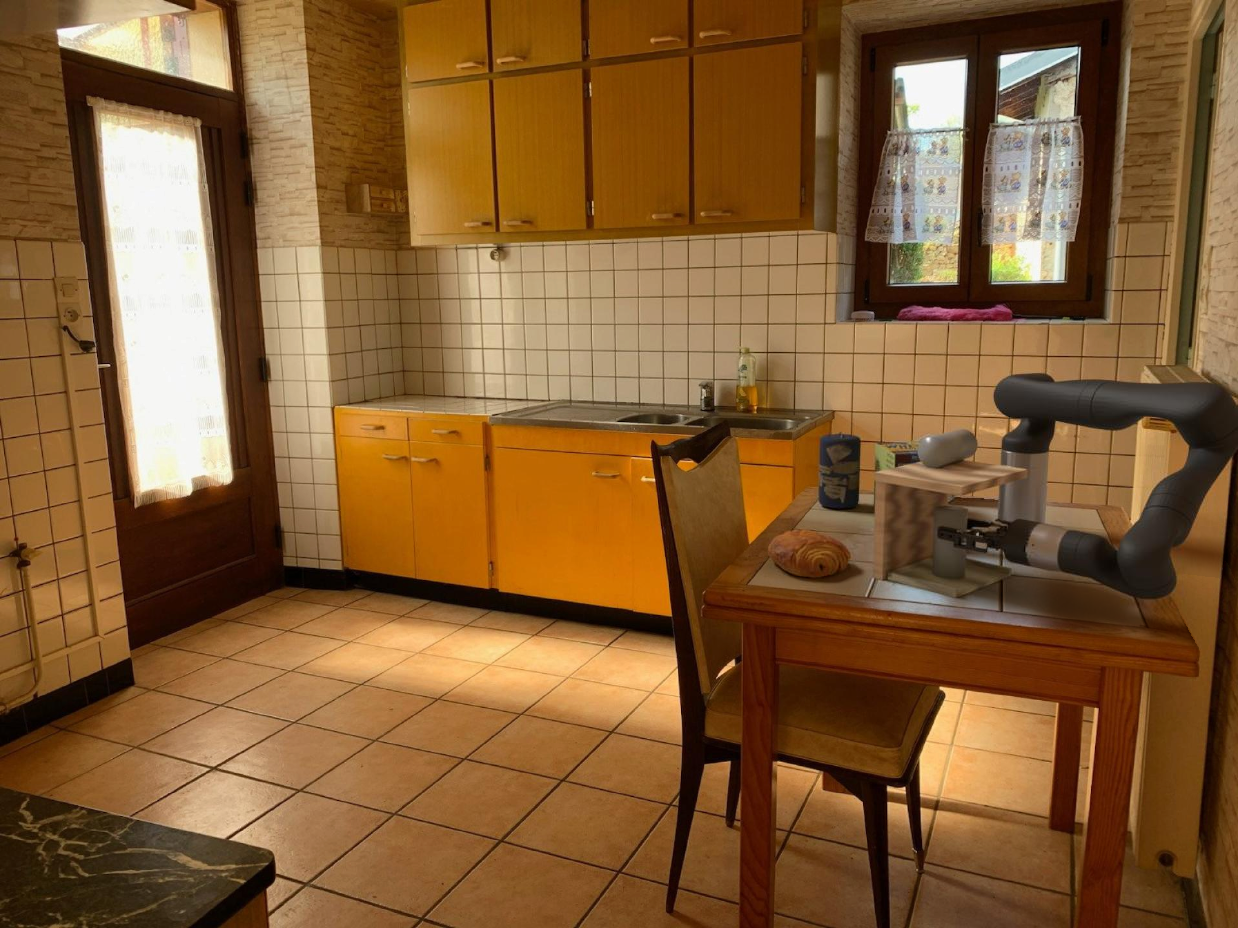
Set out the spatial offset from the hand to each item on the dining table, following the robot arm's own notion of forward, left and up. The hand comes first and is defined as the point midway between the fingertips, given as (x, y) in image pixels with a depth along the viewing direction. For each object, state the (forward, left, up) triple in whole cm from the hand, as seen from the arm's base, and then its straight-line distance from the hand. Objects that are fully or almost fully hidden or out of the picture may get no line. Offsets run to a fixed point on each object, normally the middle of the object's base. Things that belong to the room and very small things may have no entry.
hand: (952, 527), depth 167 cm
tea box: (-55, -38, -10) cm, 68 cm away
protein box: (-35, -33, -10) cm, 49 cm away
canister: (-30, -48, -9) cm, 58 cm away
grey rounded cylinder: (0, 0, -9) cm, 9 cm away
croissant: (+13, -21, -10) cm, 27 cm away
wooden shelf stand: (0, 0, -9) cm, 9 cm away
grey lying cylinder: (0, -5, +13) cm, 14 cm away
